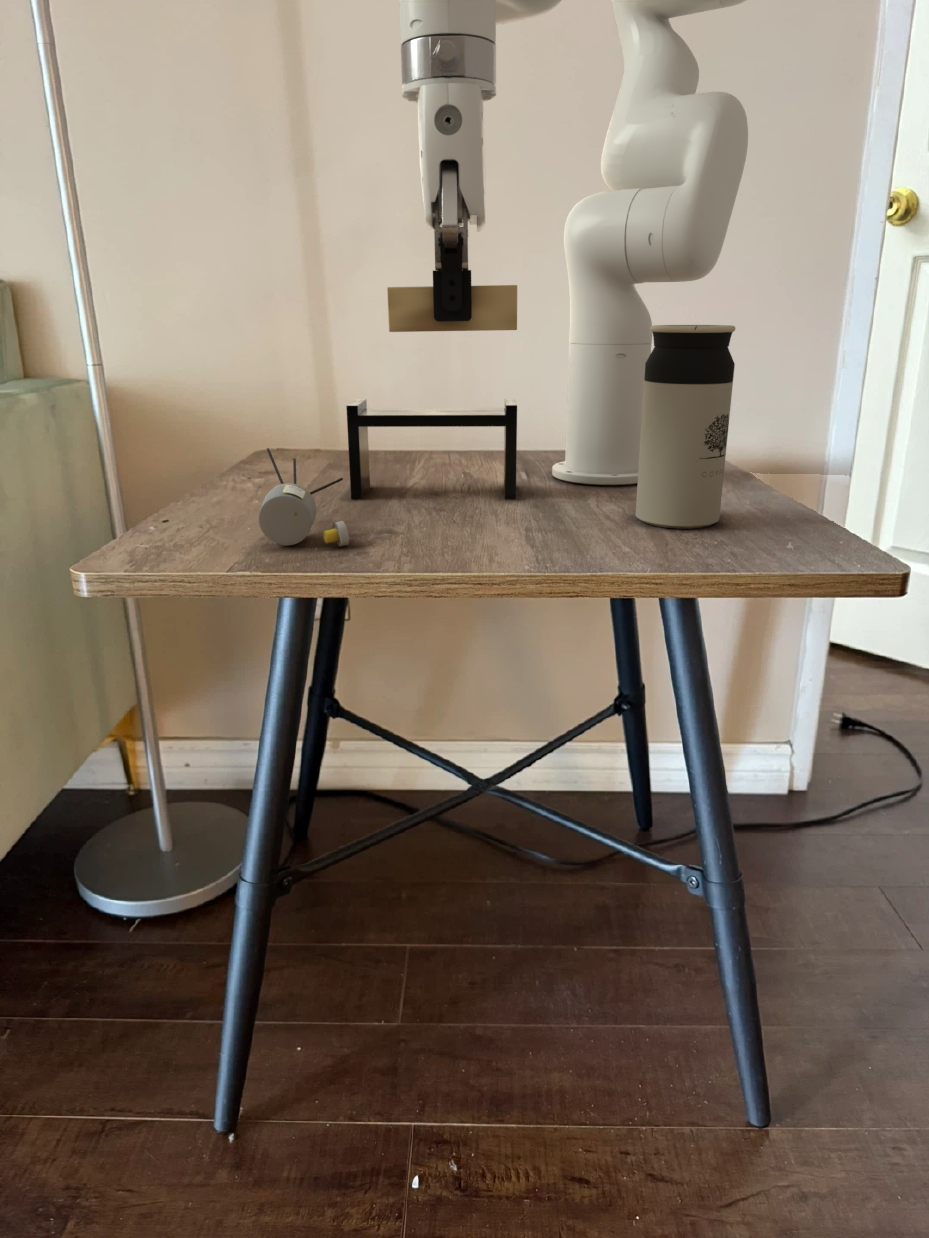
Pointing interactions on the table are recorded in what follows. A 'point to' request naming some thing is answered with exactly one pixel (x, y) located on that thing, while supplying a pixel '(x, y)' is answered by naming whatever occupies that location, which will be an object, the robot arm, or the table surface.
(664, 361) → the travel mug
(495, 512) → the table surface
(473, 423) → the shelf
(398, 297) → the block
